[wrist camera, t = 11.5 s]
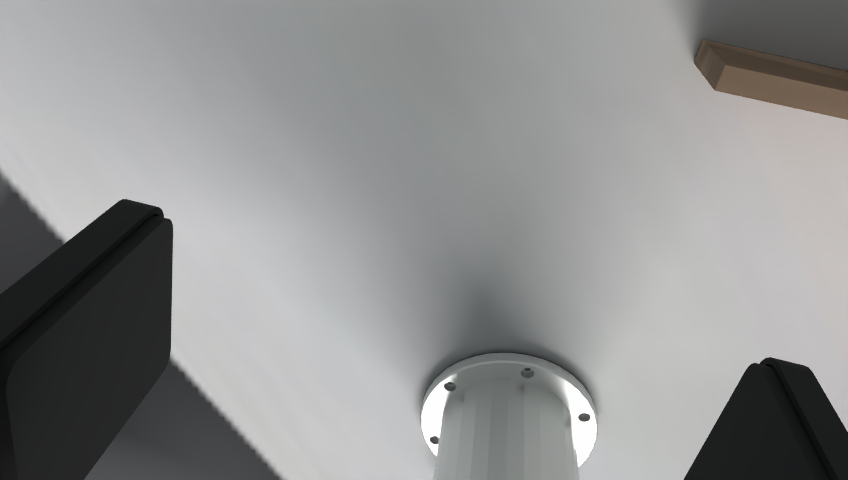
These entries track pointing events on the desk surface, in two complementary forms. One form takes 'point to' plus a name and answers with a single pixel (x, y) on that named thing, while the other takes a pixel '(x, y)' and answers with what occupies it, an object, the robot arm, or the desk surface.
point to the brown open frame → (774, 79)
